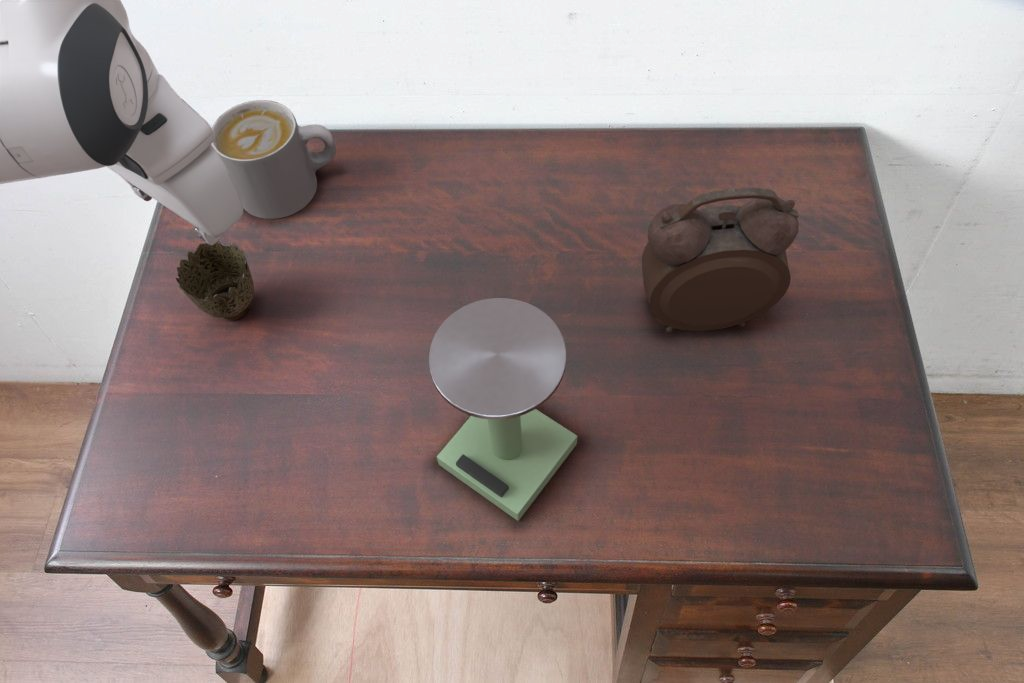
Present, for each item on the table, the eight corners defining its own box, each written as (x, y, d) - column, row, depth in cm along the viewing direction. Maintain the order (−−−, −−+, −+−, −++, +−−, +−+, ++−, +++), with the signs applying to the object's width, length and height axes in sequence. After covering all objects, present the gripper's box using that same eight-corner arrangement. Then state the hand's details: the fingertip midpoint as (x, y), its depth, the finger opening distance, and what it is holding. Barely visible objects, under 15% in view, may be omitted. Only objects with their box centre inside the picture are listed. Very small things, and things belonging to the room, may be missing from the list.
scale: (518, 521, 77) (511, 447, 62) (438, 464, 80) (413, 381, 65) (577, 444, 81) (583, 357, 66) (498, 393, 84) (487, 299, 69)
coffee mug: (235, 222, 98) (205, 165, 89) (241, 163, 103) (214, 103, 94) (343, 212, 98) (324, 153, 89) (345, 153, 103) (326, 93, 95)
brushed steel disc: (512, 451, 61) (511, 443, 59) (403, 378, 64) (400, 368, 63) (592, 350, 65) (593, 340, 64) (486, 287, 69) (485, 276, 67)
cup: (191, 330, 90) (162, 289, 83) (219, 278, 93) (193, 235, 86) (252, 342, 88) (228, 302, 82) (278, 289, 92) (256, 246, 85)
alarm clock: (756, 280, 90) (805, 153, 73) (772, 334, 86) (827, 213, 69) (628, 291, 90) (647, 165, 73) (638, 345, 86) (661, 226, 69)
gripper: (6, 78, 68) (87, 189, 79) (163, 182, 61) (226, 286, 72) (67, 38, 70) (137, 151, 82) (225, 132, 63) (276, 241, 75)
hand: (180, 215), depth 77 cm, fingers open, 8 cm apart
